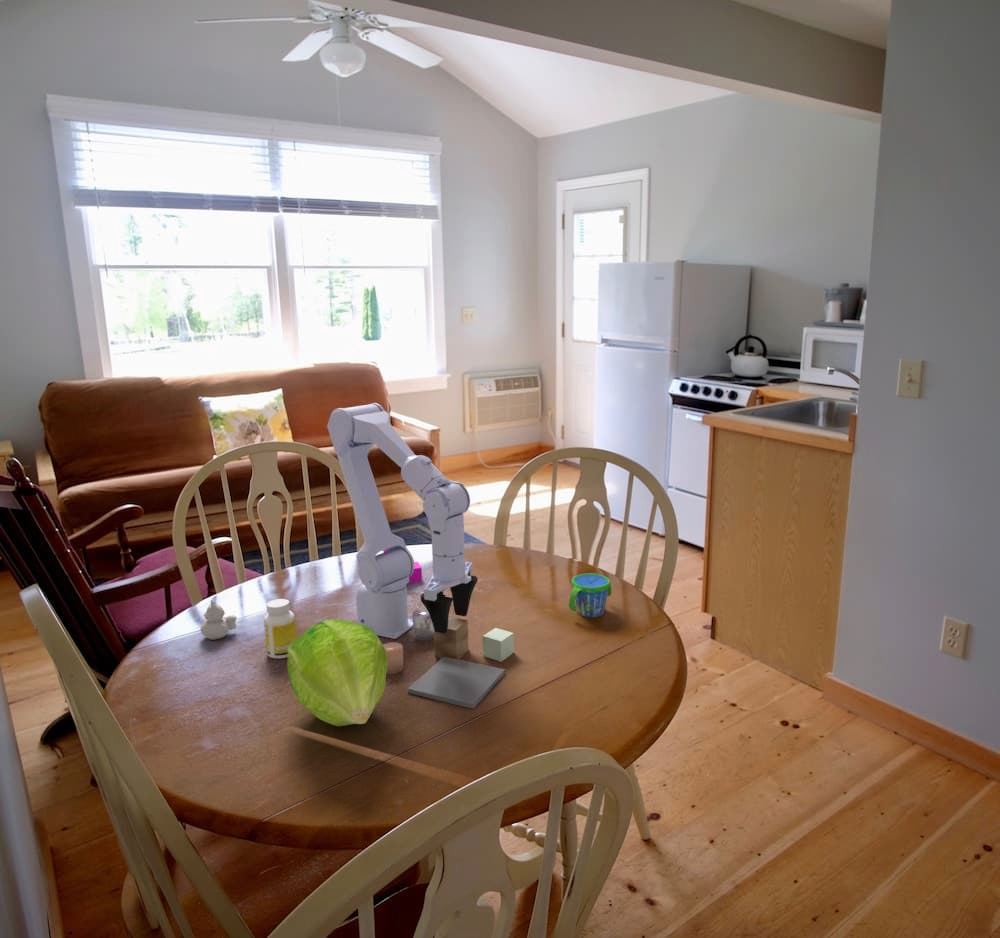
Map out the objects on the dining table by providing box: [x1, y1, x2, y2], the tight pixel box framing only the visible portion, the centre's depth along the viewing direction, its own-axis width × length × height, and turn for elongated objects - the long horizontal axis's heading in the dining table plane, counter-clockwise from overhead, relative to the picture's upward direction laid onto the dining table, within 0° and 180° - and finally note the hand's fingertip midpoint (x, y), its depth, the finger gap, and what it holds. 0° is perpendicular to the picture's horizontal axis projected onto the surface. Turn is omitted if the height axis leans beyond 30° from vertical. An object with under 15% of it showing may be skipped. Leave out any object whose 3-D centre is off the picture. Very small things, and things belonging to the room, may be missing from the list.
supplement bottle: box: [263, 598, 298, 660], centre depth 131 cm, size 5×5×10 cm
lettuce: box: [286, 618, 388, 727], centre depth 107 cm, size 15×22×15 cm, turn 20°
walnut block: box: [433, 616, 469, 660], centre depth 130 cm, size 4×4×6 cm
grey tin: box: [412, 607, 434, 642], centre depth 137 cm, size 4×4×5 cm
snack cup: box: [568, 572, 612, 618], centre depth 146 cm, size 11×8×7 cm
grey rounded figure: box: [200, 599, 237, 641], centre depth 138 cm, size 5×7×8 cm
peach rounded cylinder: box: [382, 641, 405, 675], centre depth 125 cm, size 4×4×4 cm
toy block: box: [382, 550, 423, 584], centre depth 168 cm, size 15×6×8 cm, turn 18°
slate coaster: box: [407, 657, 506, 710], centre depth 120 cm, size 12×12×1 cm
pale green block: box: [482, 627, 515, 663], centre depth 130 cm, size 4×4×4 cm
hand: (451, 623), depth 130 cm, fingers open, 7 cm apart
